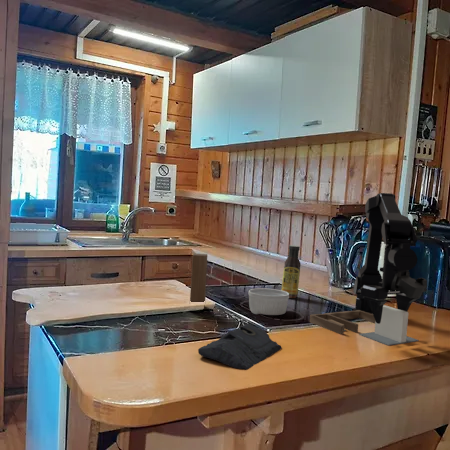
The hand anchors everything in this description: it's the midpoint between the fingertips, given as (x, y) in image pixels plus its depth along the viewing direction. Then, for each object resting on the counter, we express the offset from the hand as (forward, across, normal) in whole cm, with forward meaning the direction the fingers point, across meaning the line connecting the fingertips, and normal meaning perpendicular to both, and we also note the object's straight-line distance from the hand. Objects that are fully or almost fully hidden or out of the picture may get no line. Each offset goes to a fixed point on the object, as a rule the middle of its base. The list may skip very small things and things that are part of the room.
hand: (389, 321), depth 127 cm
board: (+4, 0, 0) cm, 4 cm away
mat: (+5, 0, 0) cm, 5 cm away
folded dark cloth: (+6, -44, +7) cm, 45 cm away
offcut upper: (+4, -8, +13) cm, 16 cm away
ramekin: (+6, -15, +36) cm, 39 cm away
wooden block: (+5, -35, +47) cm, 59 cm away
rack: (+5, -1, +13) cm, 14 cm away
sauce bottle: (+5, +8, +54) cm, 55 cm away
